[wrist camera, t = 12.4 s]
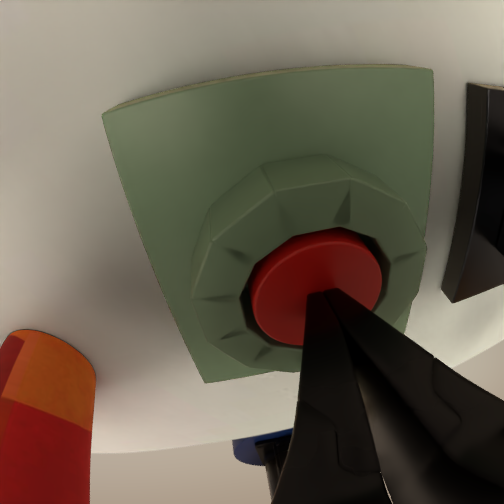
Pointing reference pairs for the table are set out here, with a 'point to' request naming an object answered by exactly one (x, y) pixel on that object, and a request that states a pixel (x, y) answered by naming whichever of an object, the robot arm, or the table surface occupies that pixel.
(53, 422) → the paper cup
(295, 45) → the table surface
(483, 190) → the bracket
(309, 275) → the button
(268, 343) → the control block
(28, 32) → the table surface
